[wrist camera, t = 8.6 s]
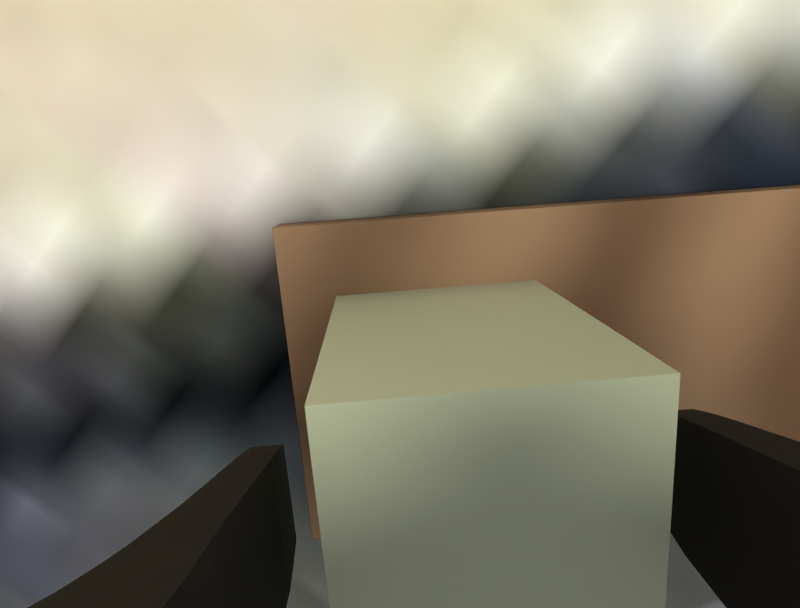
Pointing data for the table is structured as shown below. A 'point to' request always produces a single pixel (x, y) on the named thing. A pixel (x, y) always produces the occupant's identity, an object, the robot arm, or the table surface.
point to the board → (587, 285)
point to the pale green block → (490, 453)
